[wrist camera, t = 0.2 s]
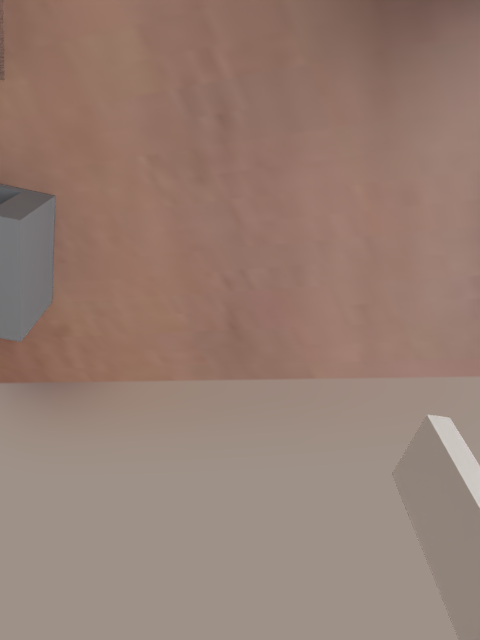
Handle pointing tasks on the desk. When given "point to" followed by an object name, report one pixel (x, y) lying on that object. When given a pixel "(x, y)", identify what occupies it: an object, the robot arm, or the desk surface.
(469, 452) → the robot arm
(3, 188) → the socket block
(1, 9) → the slide bolt
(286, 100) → the desk surface
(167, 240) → the desk surface
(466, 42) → the desk surface
